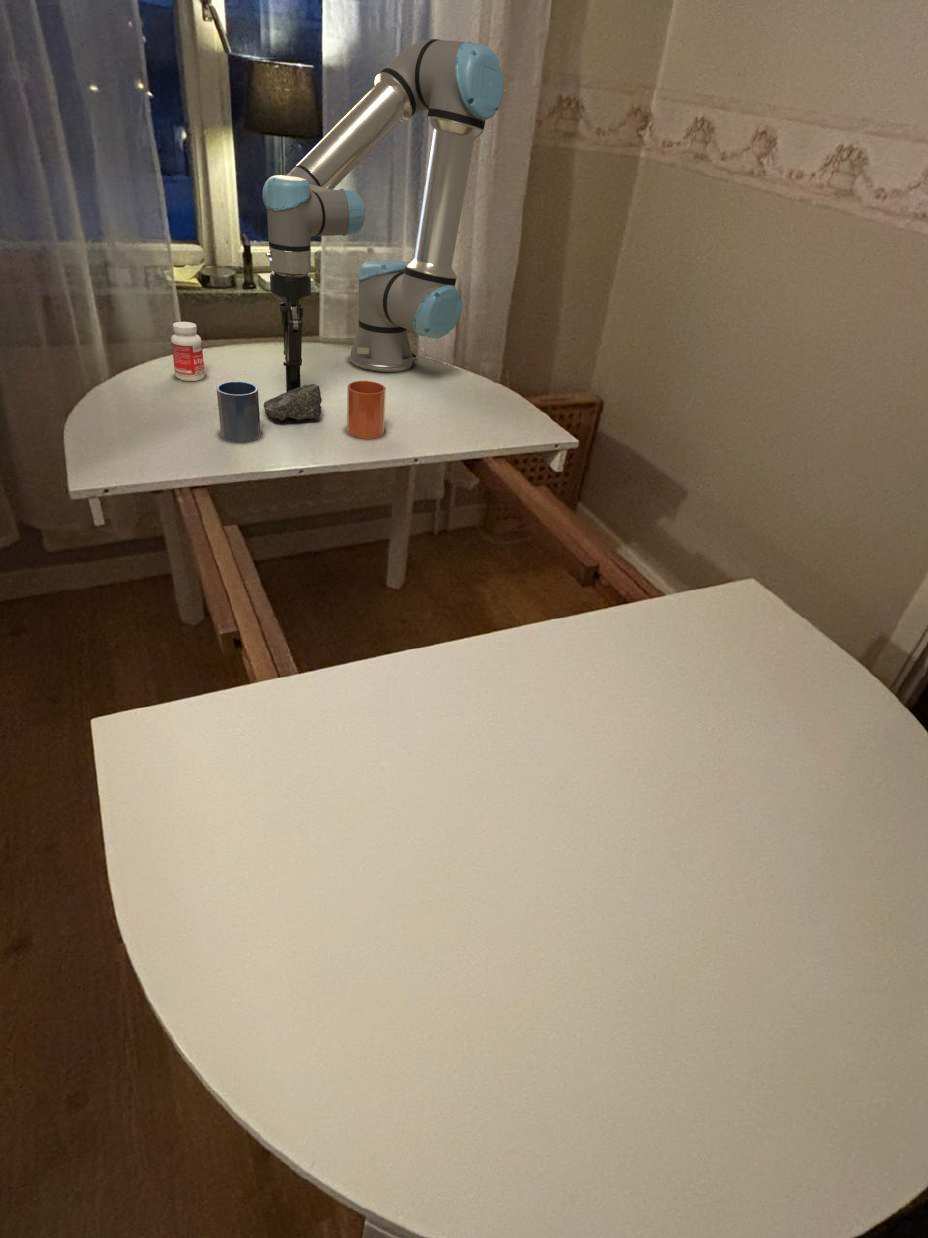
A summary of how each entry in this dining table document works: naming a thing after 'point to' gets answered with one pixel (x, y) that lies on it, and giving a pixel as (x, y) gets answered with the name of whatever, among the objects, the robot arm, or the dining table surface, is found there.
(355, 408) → the orange cup
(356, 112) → the robot arm
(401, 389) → the dining table surface
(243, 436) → the cup
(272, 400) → the rock
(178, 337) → the pill bottle
